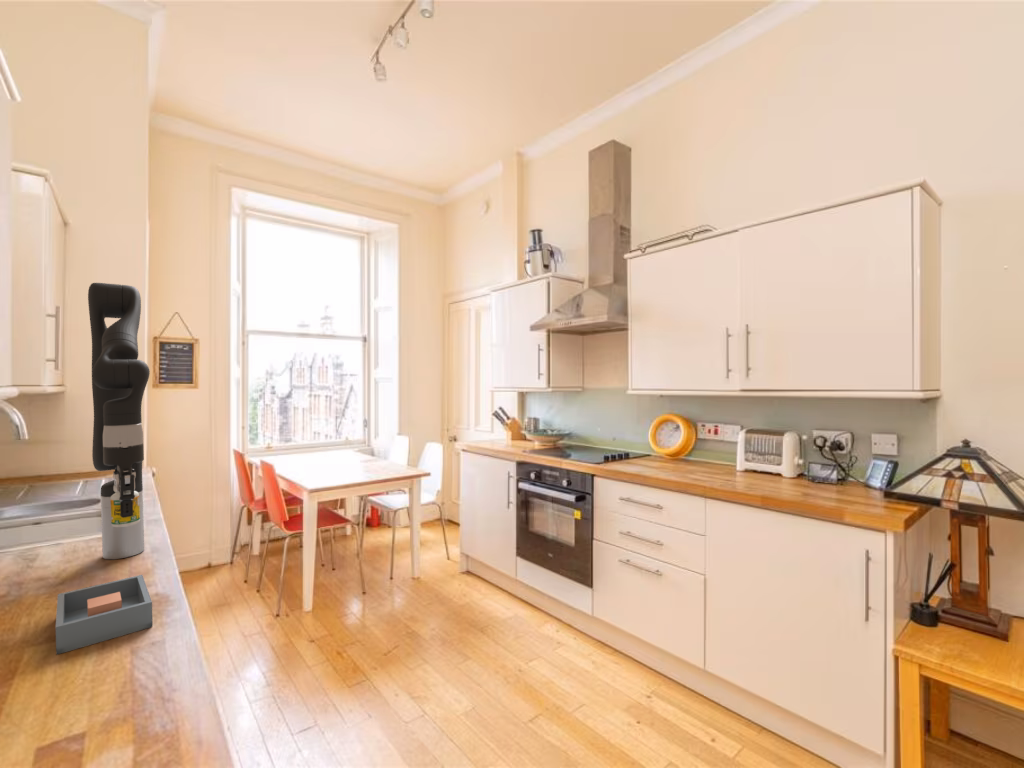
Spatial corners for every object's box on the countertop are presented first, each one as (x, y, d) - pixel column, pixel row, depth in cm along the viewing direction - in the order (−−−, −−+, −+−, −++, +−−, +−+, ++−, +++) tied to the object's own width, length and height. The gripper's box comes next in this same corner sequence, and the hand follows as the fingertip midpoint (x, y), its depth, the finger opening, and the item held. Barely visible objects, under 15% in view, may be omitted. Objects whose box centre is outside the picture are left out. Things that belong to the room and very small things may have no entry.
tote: (58, 617, 100) (57, 594, 100) (142, 596, 110) (142, 574, 110) (56, 654, 87) (55, 627, 87) (152, 626, 97) (151, 602, 96)
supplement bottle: (140, 519, 119) (139, 480, 119) (139, 524, 115) (138, 484, 114) (112, 523, 116) (111, 483, 116) (109, 529, 112) (108, 488, 111)
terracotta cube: (88, 634, 92) (87, 608, 92) (88, 624, 96) (87, 599, 96) (122, 625, 95) (121, 600, 95) (120, 615, 99) (119, 591, 99)
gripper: (100, 441, 118) (102, 510, 118) (105, 448, 107) (107, 524, 108) (139, 438, 123) (141, 504, 123) (147, 444, 112) (149, 517, 113)
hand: (125, 513), depth 115 cm, fingers closed on supplement bottle, 5 cm apart
